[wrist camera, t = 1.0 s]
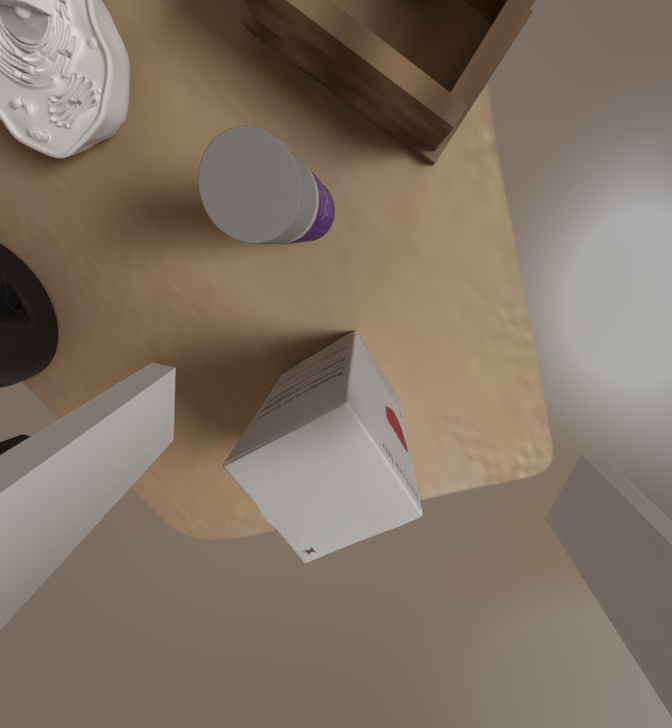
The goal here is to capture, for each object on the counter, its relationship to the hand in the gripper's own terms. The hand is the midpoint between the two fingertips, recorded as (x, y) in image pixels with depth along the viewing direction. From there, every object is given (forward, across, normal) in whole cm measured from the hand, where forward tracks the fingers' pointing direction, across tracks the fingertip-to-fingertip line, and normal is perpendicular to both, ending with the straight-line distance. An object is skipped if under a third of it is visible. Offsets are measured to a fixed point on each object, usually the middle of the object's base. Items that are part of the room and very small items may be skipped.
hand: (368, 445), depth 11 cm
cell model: (+22, -25, +13) cm, 35 cm away
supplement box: (+21, 0, -8) cm, 23 cm away
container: (+22, -6, +7) cm, 24 cm away
